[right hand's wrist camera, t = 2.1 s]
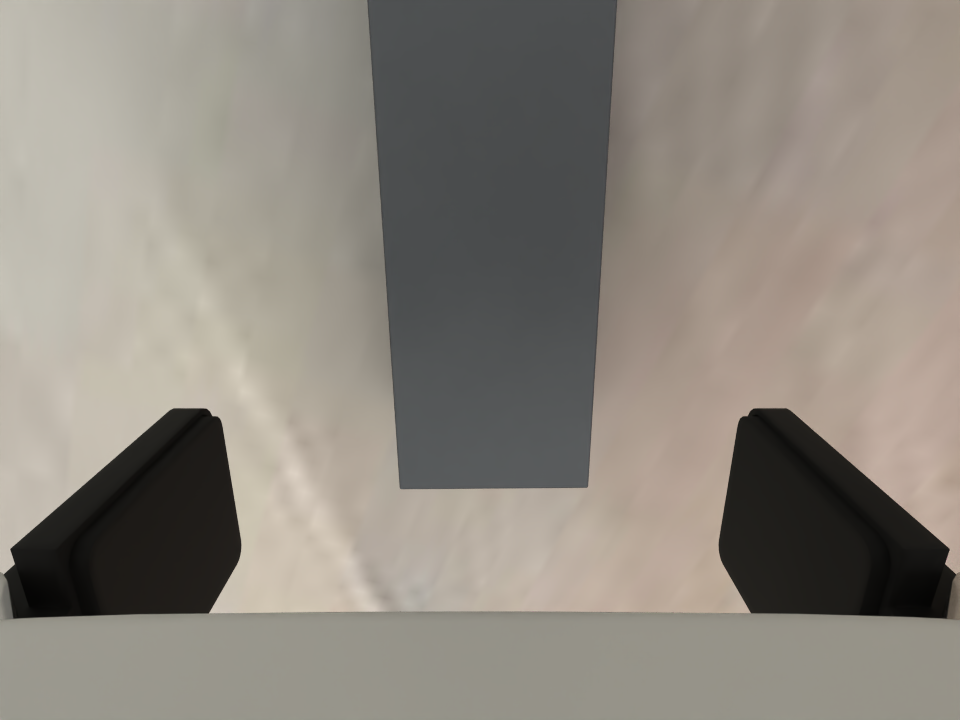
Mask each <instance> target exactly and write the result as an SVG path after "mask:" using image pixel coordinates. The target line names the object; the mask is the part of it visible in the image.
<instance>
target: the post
mask: <svg viewBox="0 0 960 720" xmlns="http://www.w3.org/2000/svg"><path fill="white" fill-rule="evenodd" d="M616 8H617V0H368V15H369V30H370V45H371V60H372V75H373V90H374V106H375V121H376V136H377V151H378V166H379V181H380V196H381V211H382V226H383V242H384V257H385V272H386V287H387V302H388V317H389V332H390V347H391V362H392V378H393V393H394V408H395V423H396V438H397V453H398V468H399V483H400V489H482V488H587V487H588V478H589V461H590V445H591V428H592V411H593V394H594V378H595V361H596V344H597V327H598V310H599V294H600V277H601V260H602V243H603V227H604V210H605V193H606V176H607V159H608V143H609V126H610V109H611V92H612V76H613V59H614V42H615V25H616Z"/></svg>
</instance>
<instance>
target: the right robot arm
mask: <svg viewBox="0 0 960 720" xmlns="http://www.w3.org/2000/svg"><path fill="white" fill-rule="evenodd" d="M10 550H11V553H12V556H13V559H14V562H15V565H14V566H13V567H11V568H10V569H9V570H8V571H7V572H6V573H5V574H4V575H3V573H1V572H0V720H960V572H959V573H957V575H956V574H955V573H954V572H953V571H952V570H951V569H950V568H949V567H947V566H946V565H945V562H946V559H947V556H948V553H949V550H950V549H949V548H948V547H947V546H946V545H944V544H943V543H942V542H941V541H940V540H939V539H938V538H936V537H935V536H934V535H933V534H932V533H931V532H930V531H928V530H927V529H926V528H925V527H924V526H923V525H921V524H920V523H919V522H918V521H917V520H916V519H915V518H913V517H912V516H911V515H910V514H909V513H908V512H907V511H905V510H904V509H903V508H902V507H901V506H900V505H898V504H897V503H896V502H895V501H894V500H893V499H892V498H890V497H889V496H888V495H887V494H886V493H885V492H883V491H882V490H881V489H880V488H879V487H878V486H877V485H875V484H874V483H873V482H872V481H871V480H870V479H869V478H867V477H866V476H865V475H864V474H863V473H862V472H860V471H859V470H858V469H857V468H856V467H855V466H854V465H852V464H851V463H850V462H849V461H848V460H847V459H845V458H844V457H843V456H842V455H841V454H840V453H839V452H837V451H836V450H835V449H834V448H833V447H832V446H831V445H829V444H828V443H827V442H826V441H825V440H824V439H822V438H821V437H820V436H819V435H818V434H817V433H816V432H814V431H813V430H812V429H811V428H810V427H809V426H808V425H806V424H805V423H804V422H803V421H802V420H801V419H799V418H798V417H797V416H796V415H795V414H794V413H793V412H791V411H790V410H788V409H787V408H757V409H753V410H751V411H750V413H749V415H748V416H744V417H742V418H740V420H739V423H738V427H737V433H736V439H735V445H734V452H733V458H732V464H731V470H730V476H729V482H728V488H727V495H726V501H725V507H724V513H723V519H722V525H721V531H720V538H719V554H720V558H721V561H722V563H723V565H724V567H725V569H726V570H727V572H728V574H729V576H730V577H731V579H732V581H733V582H734V584H735V586H736V588H737V589H738V591H739V593H740V595H741V596H742V598H743V600H744V602H745V603H746V605H747V607H748V609H749V610H750V612H751V613H643V612H303V613H214V614H209V612H210V610H211V609H212V607H213V605H214V603H215V602H216V600H217V598H218V596H219V595H220V593H221V591H222V589H223V588H224V586H225V584H226V582H227V581H228V579H229V577H230V576H231V574H232V572H233V570H234V569H235V567H236V565H237V563H238V561H239V558H240V554H241V538H240V531H239V525H238V519H237V513H236V507H235V501H234V495H233V488H232V482H231V476H230V470H229V464H228V458H227V452H226V445H225V439H224V433H223V427H222V423H221V420H220V418H218V417H216V416H212V415H211V413H210V411H209V410H207V409H203V408H173V409H172V410H170V411H169V412H167V413H166V414H165V415H164V416H163V417H162V418H161V419H159V420H158V421H157V422H156V423H155V424H154V425H152V426H151V427H150V428H149V429H148V430H147V431H146V432H144V433H143V434H142V435H141V436H140V437H139V438H138V439H136V440H135V441H134V442H133V443H132V444H131V445H129V446H128V447H127V448H126V449H125V450H124V451H123V452H121V453H120V454H119V455H118V456H117V457H116V458H115V459H113V460H112V461H111V462H110V463H109V464H108V465H106V466H105V467H104V468H103V469H102V470H101V471H100V472H98V473H97V474H96V475H95V476H94V477H93V478H91V479H90V480H89V481H88V482H87V483H86V484H85V485H83V486H82V487H81V488H80V489H79V490H78V491H77V492H75V493H74V494H73V495H72V496H71V497H70V498H68V499H67V500H66V501H65V502H64V503H63V504H62V505H60V506H59V507H58V508H57V509H56V510H55V511H53V512H52V513H51V514H50V515H49V516H48V517H47V518H45V519H44V520H43V521H42V522H41V523H40V524H39V525H37V526H36V527H35V528H34V529H33V530H32V531H30V532H29V533H28V534H27V535H26V536H25V537H24V538H22V539H21V540H20V541H19V542H18V543H17V544H16V545H14V546H13V547H12V548H11V549H10Z"/></svg>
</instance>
